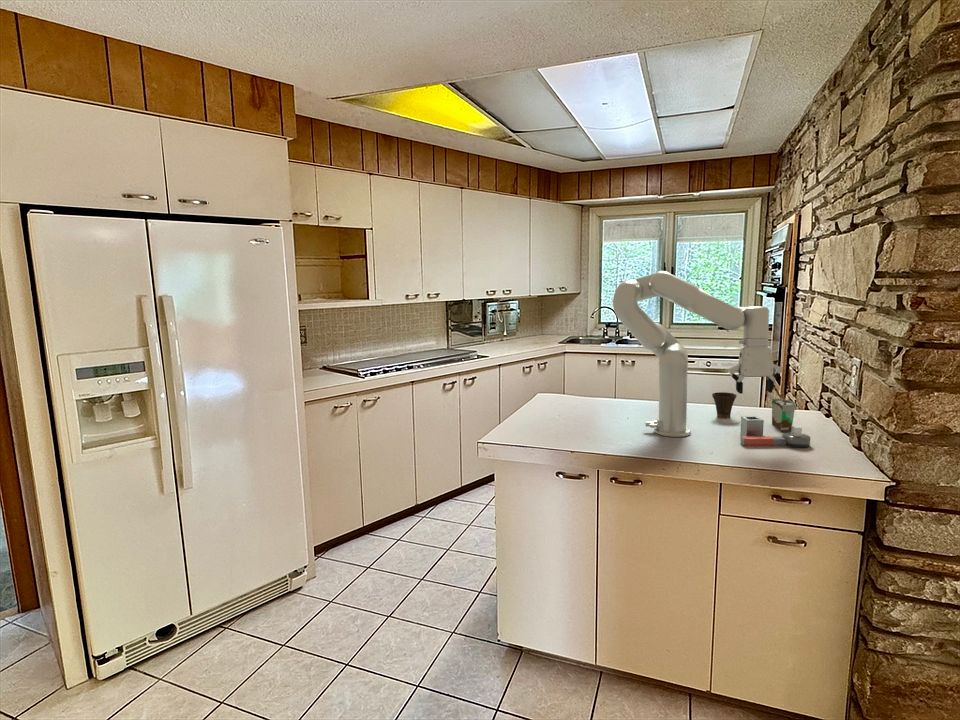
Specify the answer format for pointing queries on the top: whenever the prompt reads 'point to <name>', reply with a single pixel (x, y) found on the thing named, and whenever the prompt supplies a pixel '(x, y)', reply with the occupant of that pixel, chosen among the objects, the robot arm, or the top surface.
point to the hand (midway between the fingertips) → (754, 392)
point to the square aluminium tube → (751, 426)
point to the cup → (724, 403)
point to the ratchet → (779, 440)
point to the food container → (783, 414)
